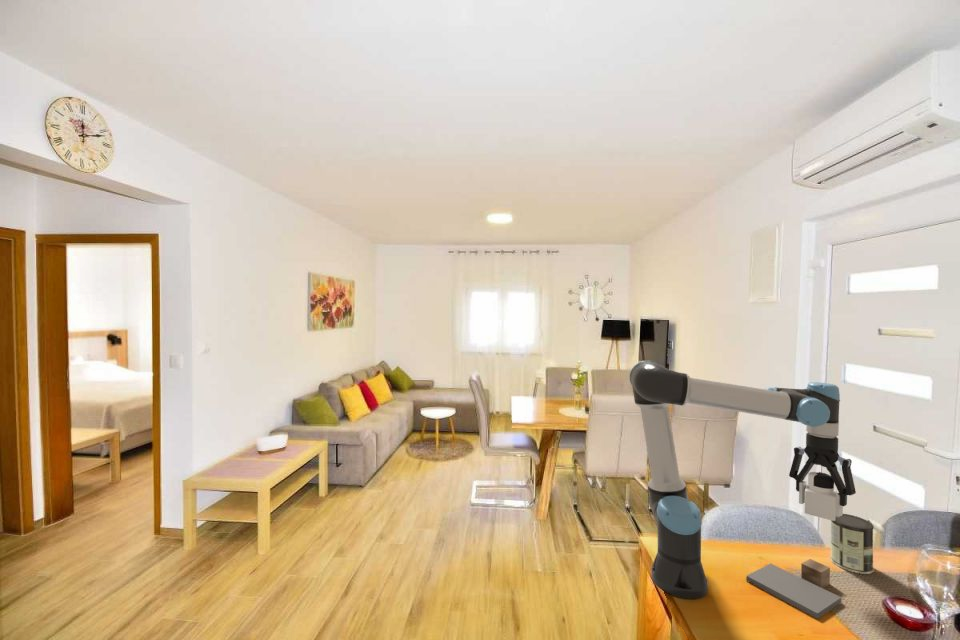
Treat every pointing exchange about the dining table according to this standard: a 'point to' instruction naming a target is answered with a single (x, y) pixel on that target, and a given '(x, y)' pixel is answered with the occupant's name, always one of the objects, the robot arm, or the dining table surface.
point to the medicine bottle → (820, 496)
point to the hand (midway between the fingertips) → (820, 508)
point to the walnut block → (815, 573)
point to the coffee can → (852, 544)
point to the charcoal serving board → (794, 590)
